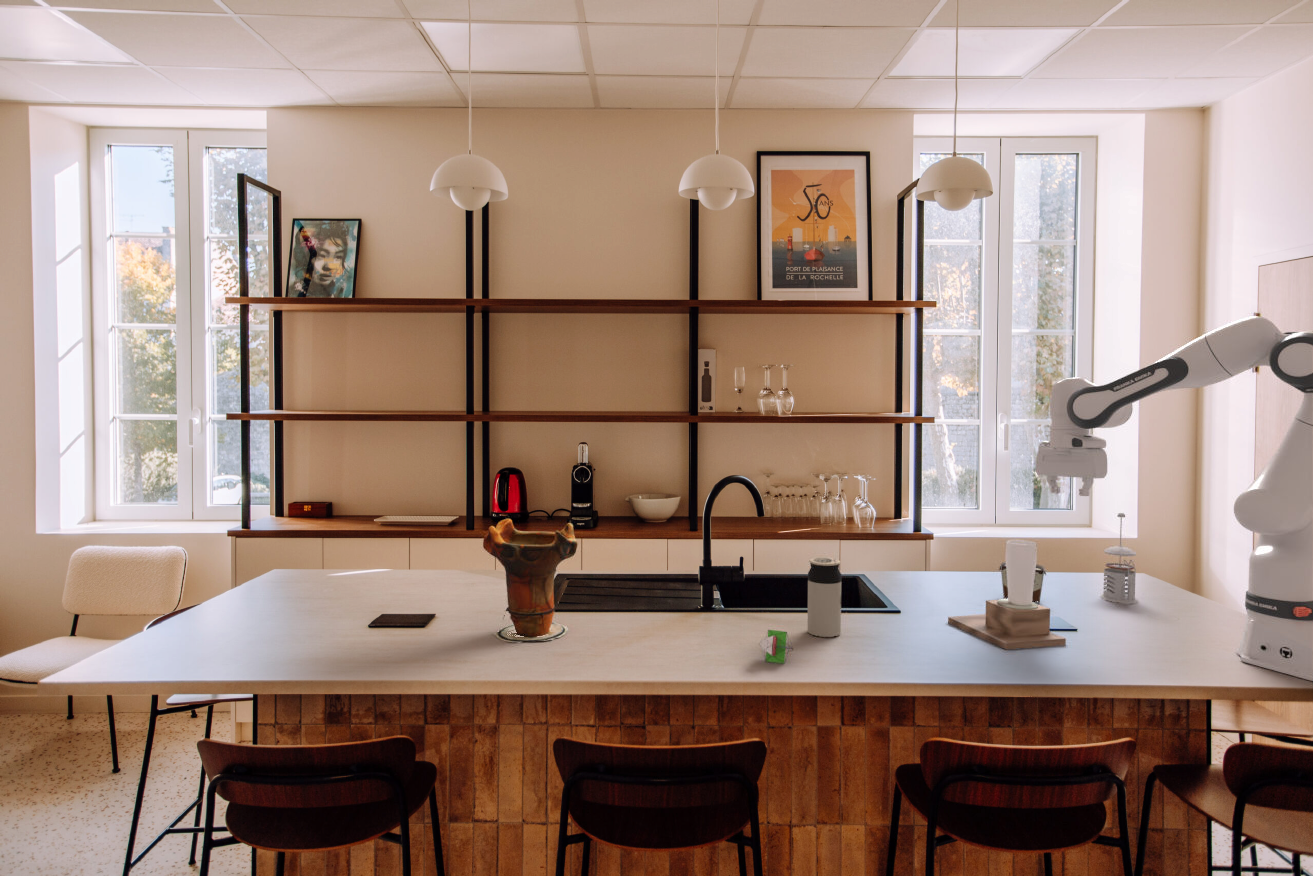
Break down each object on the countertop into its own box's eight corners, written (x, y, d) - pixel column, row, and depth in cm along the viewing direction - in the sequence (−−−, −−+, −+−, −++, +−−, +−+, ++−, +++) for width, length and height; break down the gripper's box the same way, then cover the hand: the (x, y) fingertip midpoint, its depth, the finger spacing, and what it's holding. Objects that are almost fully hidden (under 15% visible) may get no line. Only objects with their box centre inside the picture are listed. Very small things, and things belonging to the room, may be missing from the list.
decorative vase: (581, 642, 176) (574, 523, 174) (481, 650, 174) (474, 530, 173) (583, 618, 196) (577, 511, 195) (494, 624, 195) (488, 517, 194)
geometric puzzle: (766, 642, 171) (761, 620, 166) (796, 645, 168) (792, 623, 163) (760, 669, 166) (754, 647, 161) (791, 673, 163) (786, 651, 158)
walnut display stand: (1065, 644, 175) (1066, 611, 175) (1006, 649, 172) (1006, 616, 171) (1002, 618, 197) (1002, 589, 196) (948, 622, 193) (948, 592, 193)
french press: (1128, 595, 221) (1130, 510, 220) (1149, 605, 210) (1152, 516, 209) (1092, 594, 222) (1095, 510, 221) (1112, 604, 211) (1115, 516, 210)
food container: (1047, 598, 217) (1048, 564, 217) (1045, 603, 212) (1046, 568, 212) (1001, 593, 224) (1001, 559, 223) (998, 597, 219) (998, 563, 218)
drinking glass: (1039, 608, 178) (1040, 545, 178) (1008, 606, 180) (1009, 544, 179) (1031, 600, 185) (1032, 540, 184) (1001, 599, 186) (1002, 539, 186)
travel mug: (805, 636, 182) (805, 562, 181) (810, 627, 190) (810, 556, 189) (838, 639, 179) (839, 565, 179) (842, 630, 187) (843, 558, 186)
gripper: (1029, 441, 203) (1029, 492, 203) (1091, 441, 183) (1091, 497, 183) (1048, 441, 205) (1049, 491, 205) (1112, 441, 185) (1112, 497, 185)
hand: (1069, 494), depth 194 cm, fingers open, 8 cm apart
